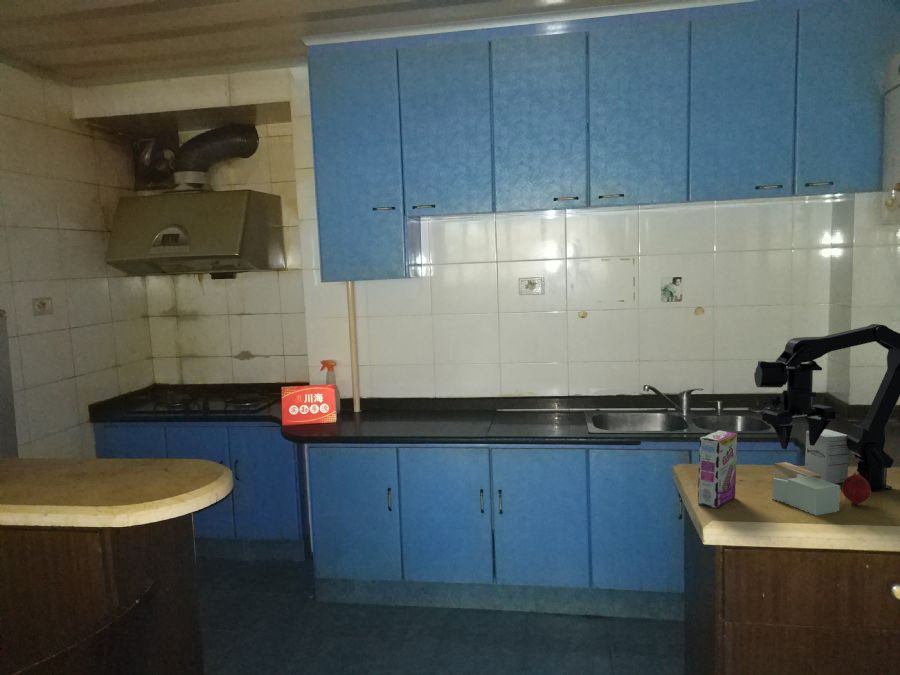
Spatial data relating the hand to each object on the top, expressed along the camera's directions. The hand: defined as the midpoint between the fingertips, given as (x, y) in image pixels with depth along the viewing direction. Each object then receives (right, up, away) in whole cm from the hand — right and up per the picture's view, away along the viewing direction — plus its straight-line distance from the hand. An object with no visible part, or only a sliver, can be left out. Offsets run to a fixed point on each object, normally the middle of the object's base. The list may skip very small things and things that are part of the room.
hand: (798, 447), depth 166 cm
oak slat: (0, -10, +1) cm, 10 cm away
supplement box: (+10, -10, +5) cm, 15 cm away
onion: (+6, -11, -14) cm, 19 cm away
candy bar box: (-25, -12, -10) cm, 29 cm away
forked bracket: (-5, -11, -14) cm, 19 cm away
